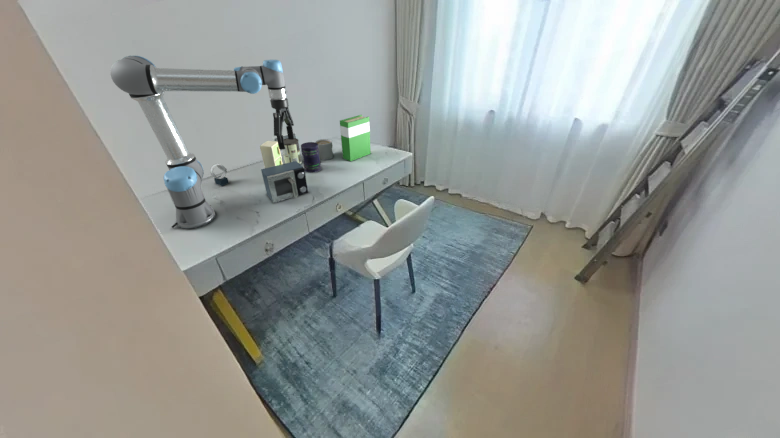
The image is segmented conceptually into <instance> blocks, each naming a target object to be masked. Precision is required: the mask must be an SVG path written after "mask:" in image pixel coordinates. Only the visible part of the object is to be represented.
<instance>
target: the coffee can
mask: <svg viewBox="0 0 780 438" xmlns="http://www.w3.org/2000/svg"><path fill="white" fill-rule="evenodd" d="M283 139H284V144H285V149H281V150H282V156H283V160H284V164H286V163H290V162H294V161H297V162H298V163H299V164H300V165H301V164H302V163H303V161H302V156H301V155H302V154H301V148H300V144H299V139H298V138H296V137H294V140H293V139H288V137H286V138H283Z"/></svg>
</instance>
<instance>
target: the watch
mask: <svg viewBox="0 0 780 438" xmlns="http://www.w3.org/2000/svg"><path fill="white" fill-rule="evenodd" d="M216 167H217V168H218V169H219V170H221V171H222V175H219V176H217V175H216V174H215V172H214V169H215V168H216ZM209 173H210V175H211V176H212V177H213V179H214V182H215V184H216V185H218V186H220V187H224V186H225V185H228V184H230V182H229V178H228V177H227V173H228V171H227V167H225V166H224V165H222V164H221V163H215V164H213V165H211V167H210V169H209Z"/></svg>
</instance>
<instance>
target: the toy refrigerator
mask: <svg viewBox="0 0 780 438" xmlns="http://www.w3.org/2000/svg"><path fill="white" fill-rule="evenodd" d="M259 149H260V154H261V158H262V162H263V166H264V169H265V168H269V167H273V166H277V165H282V164H284V163H283V157H282V153H281V149H279V146H278V141H275V140H266V141H264V142H263V143H261V144H260V145H259Z"/></svg>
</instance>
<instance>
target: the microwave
mask: <svg viewBox="0 0 780 438" xmlns="http://www.w3.org/2000/svg"><path fill="white" fill-rule="evenodd" d="M291 170H293V171H294V174H295V180H296V185H297V191H298V196H302V195H306V194H308V193H309V189H308V182H307V177H306V171H305V168H304V166H303V165H301V164H299V163H298V162H297V161H294V162H290V163H286V164H285V163H283V164H282V165H277V166H273V167H269V168H265V167H264V168H261V169H260V171H261V175H262V179H263V184H264V187H265V188H264V189H265V192H266V195H267V196H268V198H269V199H270V201H272V196H271V192H270V188H269V183H268V179H267V176H271V175H275V174H279V173H283V172H287V171H291Z"/></svg>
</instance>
